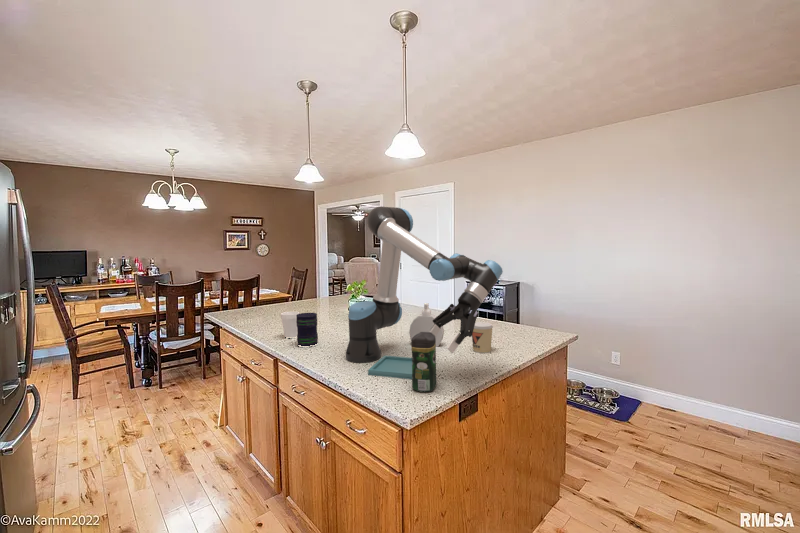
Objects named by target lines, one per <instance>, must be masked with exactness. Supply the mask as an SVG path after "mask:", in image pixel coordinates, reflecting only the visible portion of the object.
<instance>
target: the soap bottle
mask: <svg viewBox="0 0 800 533" xmlns="http://www.w3.org/2000/svg"><path fill="white" fill-rule="evenodd" d="M423 304H424V305H423V307H424V308H423V309H422V311H421V314H418V315H417V316H416V317H415V318H414V319H413V320H412V322H411V323H410V326H409V332H408V333H409V337H410V340H411V339H412V338H413V337H414V336H415V335H416V334H418V333H420V332H430V330H431V329H432V327H433V326H434V322H433V320H434V319H435V318H436V317H437V316H438V315H436V314H434V313H432V310H430V308H429V303H428V302H425V303H423ZM444 335H445V328H444V325H443V326H442V327H441V329H440V331H439V332H438V334H437V335H436V336H435V338H436V348H438V347H440V346H439V345H441V343H442V341H443V340H444Z"/></svg>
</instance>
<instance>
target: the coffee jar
mask: <svg viewBox="0 0 800 533" xmlns="http://www.w3.org/2000/svg"><path fill="white" fill-rule="evenodd" d="M410 341H411V342H410V344H411V347H410V348H411V358H412V379H411V386H412V390H414V391H416V392H420V393H426V392H432V391H433V390H435V388H436V386H437V358H436V356H437V354H436V352H437V347H436V338H435V335H434V334H432V333H431V332H420V333H418V334H416V335H415V336H414V337H413V338H412V339H410Z"/></svg>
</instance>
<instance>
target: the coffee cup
mask: <svg viewBox="0 0 800 533" xmlns="http://www.w3.org/2000/svg"><path fill="white" fill-rule="evenodd" d="M493 327H494V326H493V324H492V323H489V322H486V321H485V322H483V321H476V322H475V326H474V330H473V334H472V336H471V339H472V340H471V341H472V351H473V352H474V353H478V354H489V353H491V352H492V351H491V350H492V336H493Z"/></svg>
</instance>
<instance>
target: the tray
mask: <svg viewBox="0 0 800 533" xmlns="http://www.w3.org/2000/svg"><path fill="white" fill-rule="evenodd" d="M367 375H368V376H375V375H376V377H377V376H378V377H385V378H386V377H388V378H396V379H407V380H412V357H408V356H407V357H406V356H396V355H383V356H381V358H380V359H378V360H377V362H375V363H374V364H373V365H372V366H371V367H370V368H368V369H367Z"/></svg>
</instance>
